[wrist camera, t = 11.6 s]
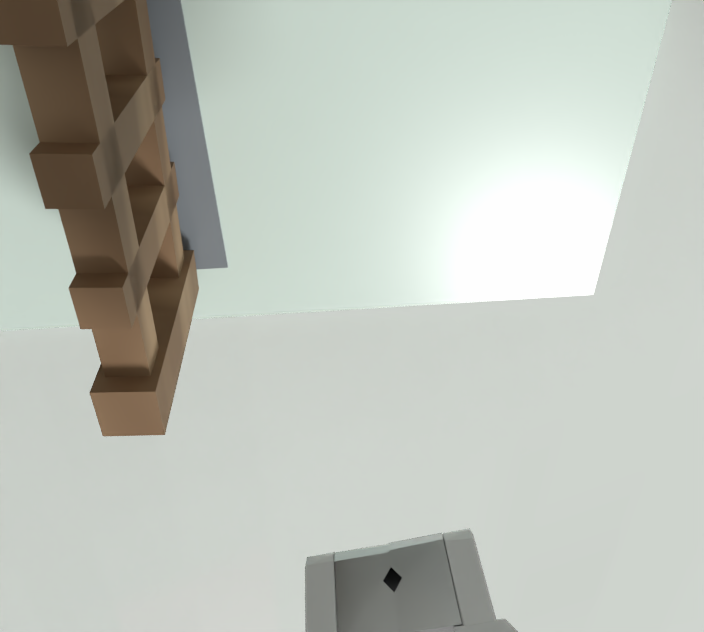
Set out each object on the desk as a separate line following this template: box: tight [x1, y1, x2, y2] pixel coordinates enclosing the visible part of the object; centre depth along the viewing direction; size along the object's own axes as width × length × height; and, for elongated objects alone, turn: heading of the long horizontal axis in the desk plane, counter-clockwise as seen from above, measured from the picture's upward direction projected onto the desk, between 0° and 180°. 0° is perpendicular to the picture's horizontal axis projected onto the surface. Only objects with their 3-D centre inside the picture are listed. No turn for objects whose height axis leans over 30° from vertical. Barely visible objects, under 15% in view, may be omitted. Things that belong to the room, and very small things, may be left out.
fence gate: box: [0, 0, 199, 436], centre depth 14 cm, size 1×10×6 cm, turn 178°
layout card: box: [0, 0, 672, 331], centre depth 16 cm, size 15×25×1 cm, turn 91°
